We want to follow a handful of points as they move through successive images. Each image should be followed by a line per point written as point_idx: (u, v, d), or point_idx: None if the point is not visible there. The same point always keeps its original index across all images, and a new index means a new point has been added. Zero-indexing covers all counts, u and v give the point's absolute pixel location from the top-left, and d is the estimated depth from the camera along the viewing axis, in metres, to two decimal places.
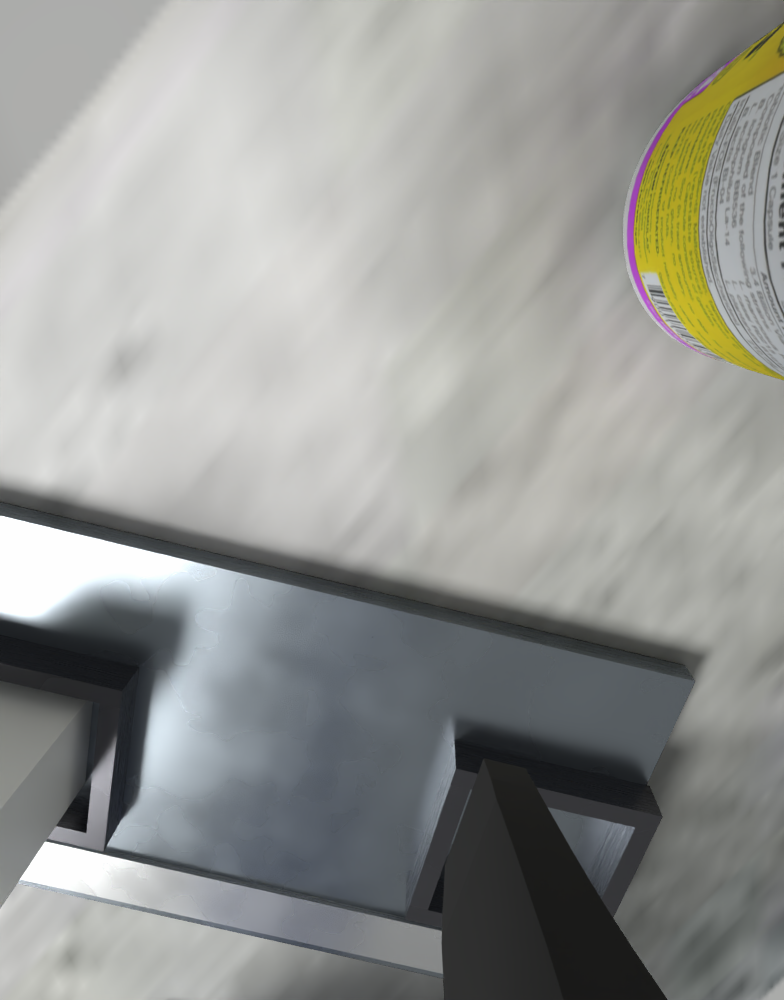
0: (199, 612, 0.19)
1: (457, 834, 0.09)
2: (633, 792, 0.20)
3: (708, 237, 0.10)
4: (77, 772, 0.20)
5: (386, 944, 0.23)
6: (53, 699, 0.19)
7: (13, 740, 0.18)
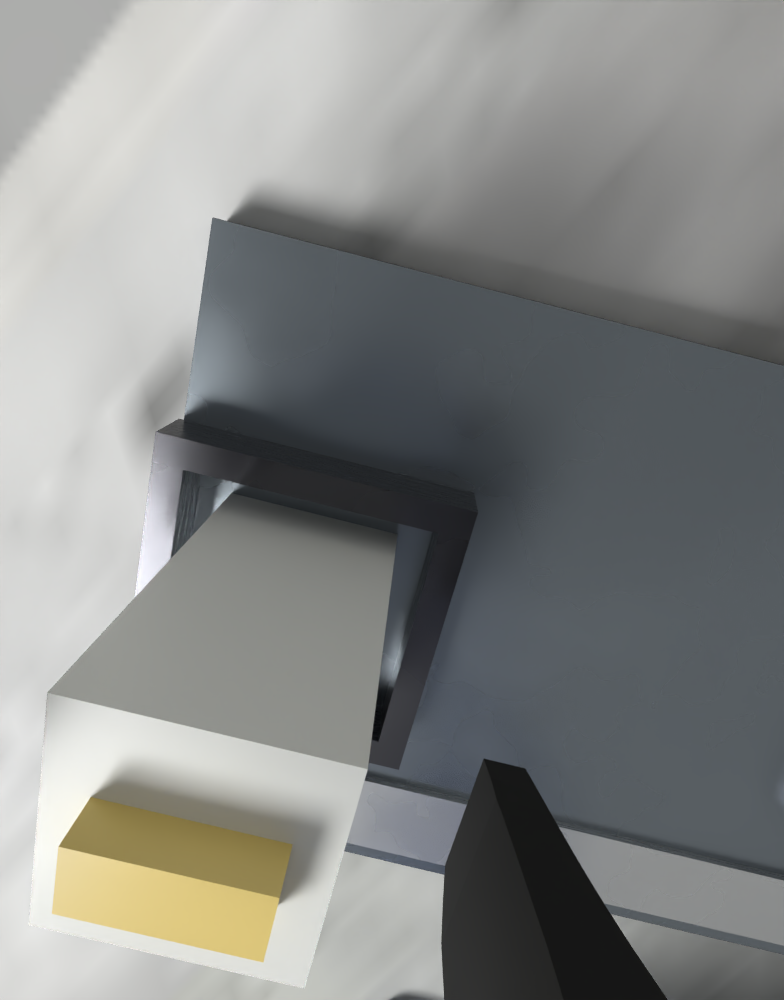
0: (583, 401, 0.13)
1: (457, 834, 0.09)
2: None
3: None
4: None
5: (752, 912, 0.16)
6: (353, 536, 0.13)
7: (336, 574, 0.11)
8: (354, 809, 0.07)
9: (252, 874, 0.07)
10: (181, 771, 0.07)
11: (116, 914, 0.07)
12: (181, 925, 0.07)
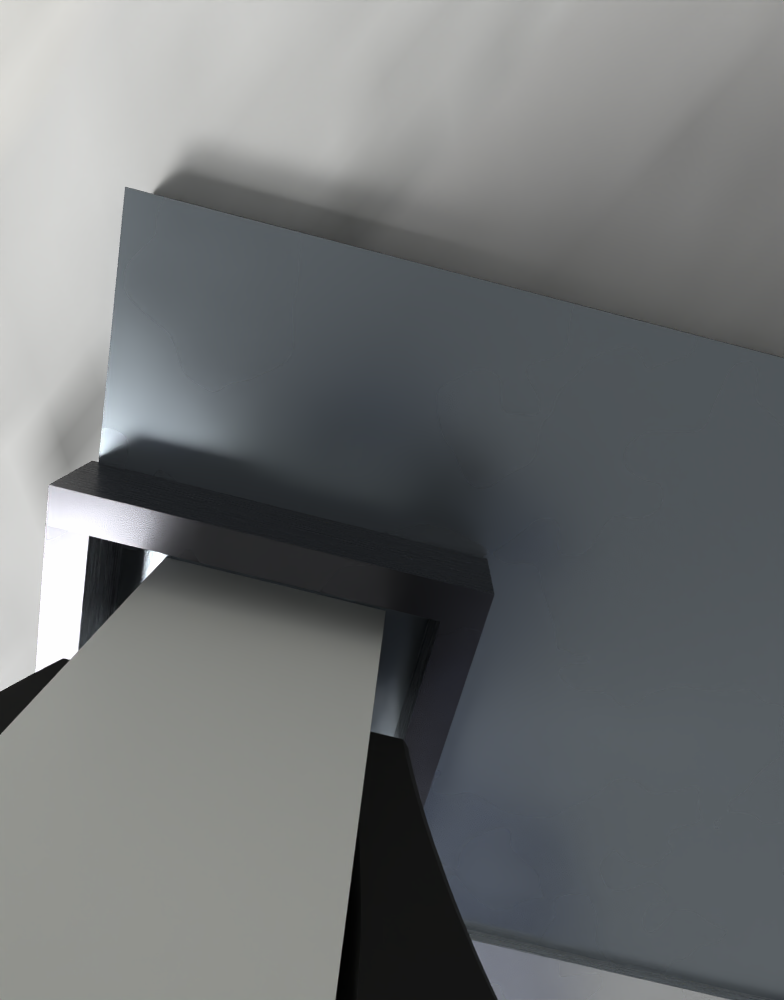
0: (636, 439, 0.09)
1: None
2: None
3: None
4: None
5: None
6: (325, 618, 0.10)
7: (296, 691, 0.08)
8: None
9: None
10: None
11: None
12: None
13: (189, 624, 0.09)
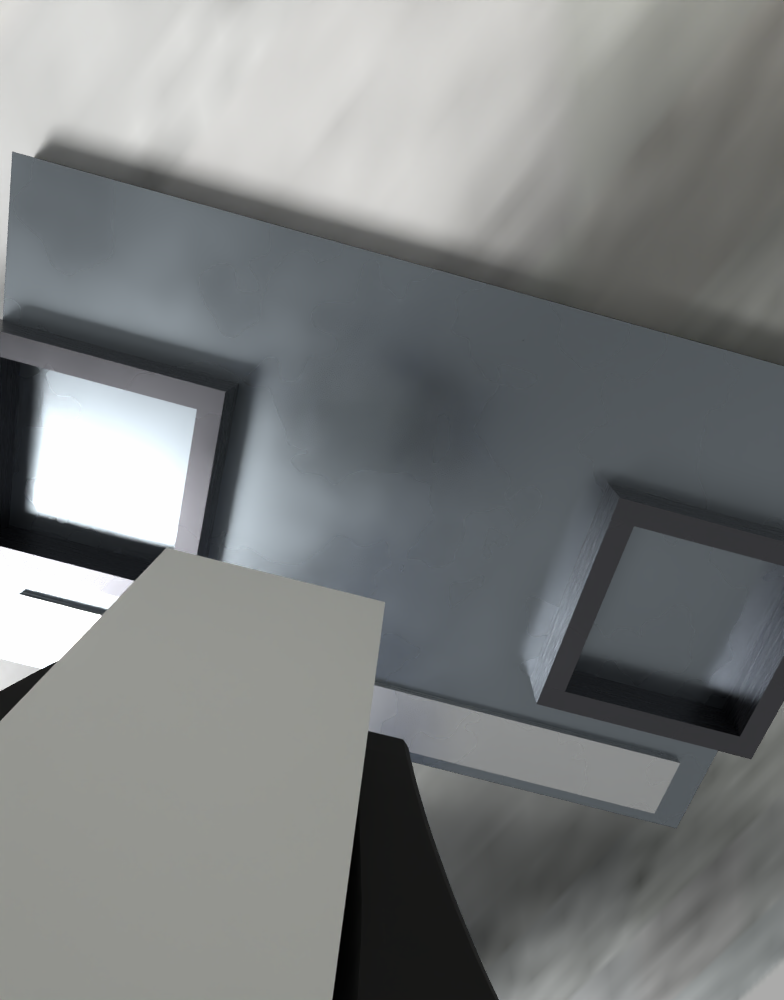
0: (317, 307, 0.16)
1: None
2: None
3: None
4: None
5: (501, 752, 0.20)
6: (325, 609, 0.10)
7: (296, 679, 0.08)
8: None
9: None
10: None
11: None
12: None
13: (190, 613, 0.09)
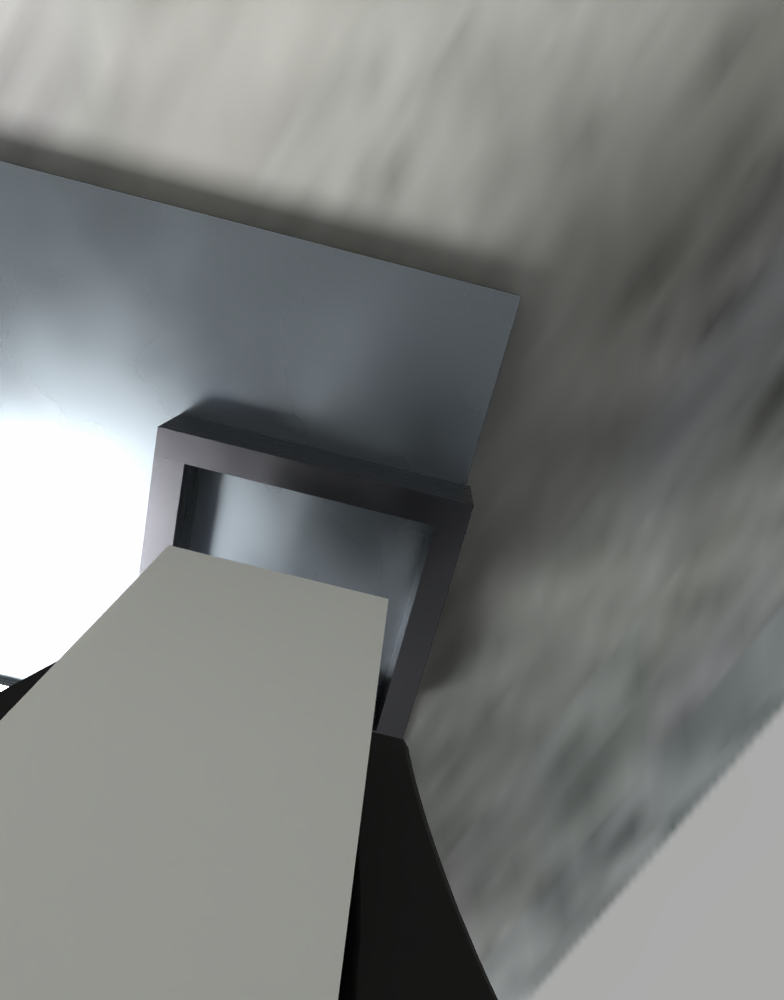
0: None
1: None
2: (439, 485, 0.13)
3: None
4: None
5: None
6: (328, 605, 0.10)
7: (299, 676, 0.08)
8: None
9: None
10: None
11: None
12: None
13: (193, 610, 0.09)
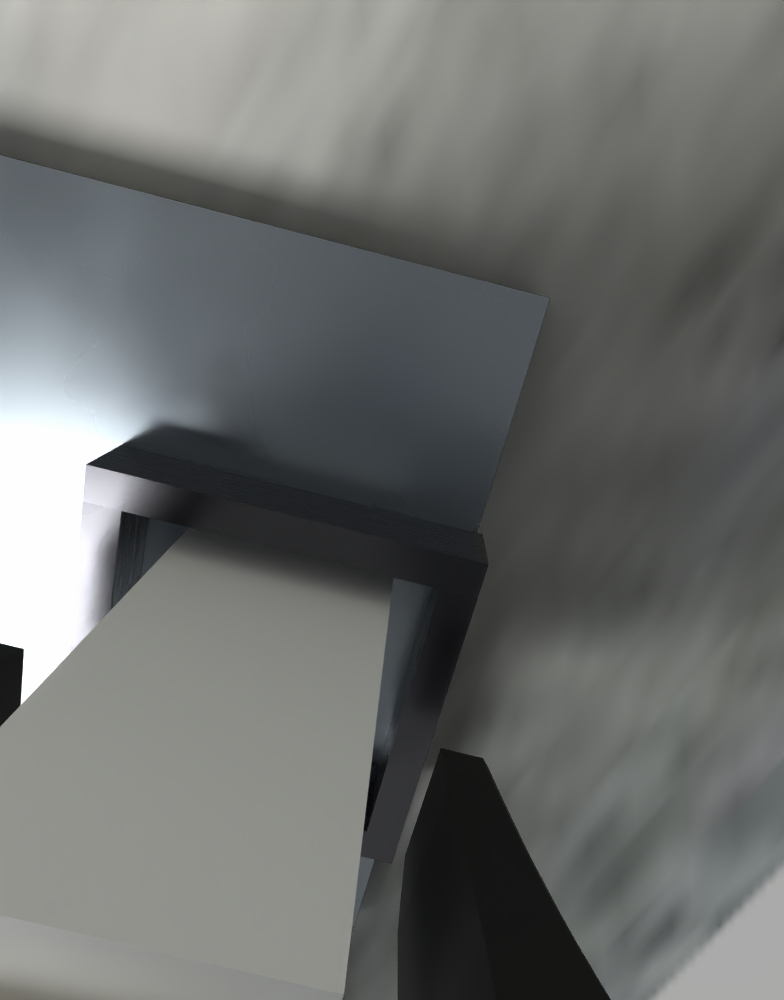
0: None
1: (416, 824, 0.09)
2: (445, 534, 0.11)
3: None
4: None
5: None
6: (339, 581, 0.11)
7: (314, 639, 0.09)
8: None
9: None
10: (66, 989, 0.05)
11: None
12: None
13: (216, 581, 0.10)
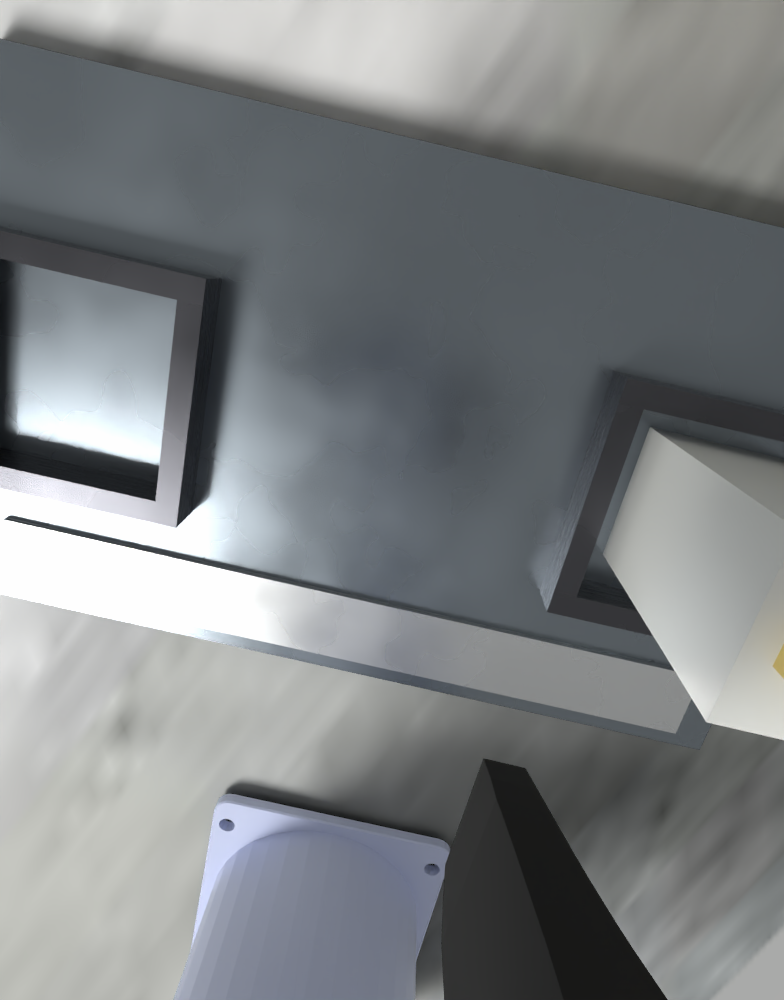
0: (300, 189, 0.15)
1: (457, 834, 0.09)
2: None
3: None
4: None
5: (512, 672, 0.19)
6: (766, 458, 0.16)
7: None
8: None
9: None
10: None
11: None
12: None
13: (714, 452, 0.15)
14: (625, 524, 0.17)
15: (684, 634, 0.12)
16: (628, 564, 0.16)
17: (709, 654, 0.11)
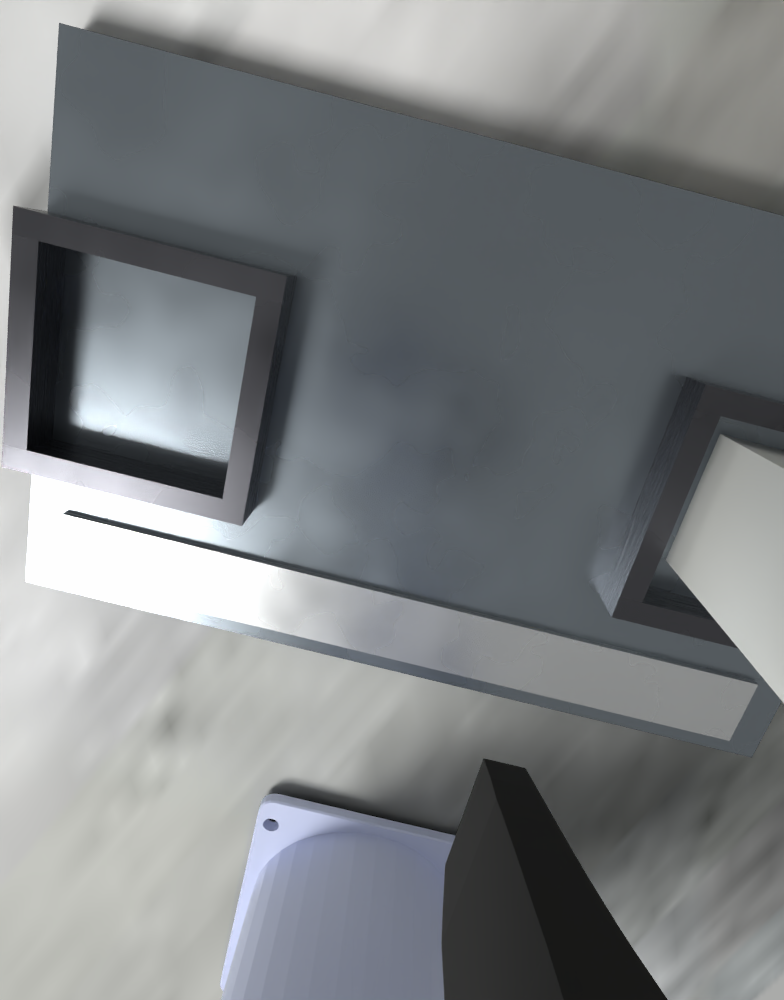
0: (381, 188, 0.15)
1: (457, 834, 0.09)
2: None
3: None
4: None
5: (568, 677, 0.19)
6: None
7: None
8: None
9: None
10: None
11: None
12: None
13: None
14: (693, 530, 0.17)
15: (775, 643, 0.12)
16: (699, 571, 0.16)
17: None
